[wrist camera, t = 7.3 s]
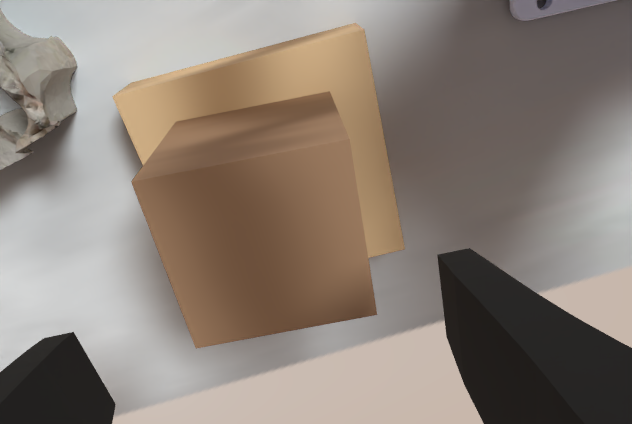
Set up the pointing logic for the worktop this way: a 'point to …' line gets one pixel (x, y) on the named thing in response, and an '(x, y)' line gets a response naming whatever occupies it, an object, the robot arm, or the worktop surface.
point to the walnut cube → (259, 220)
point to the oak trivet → (277, 85)
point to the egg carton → (32, 89)
